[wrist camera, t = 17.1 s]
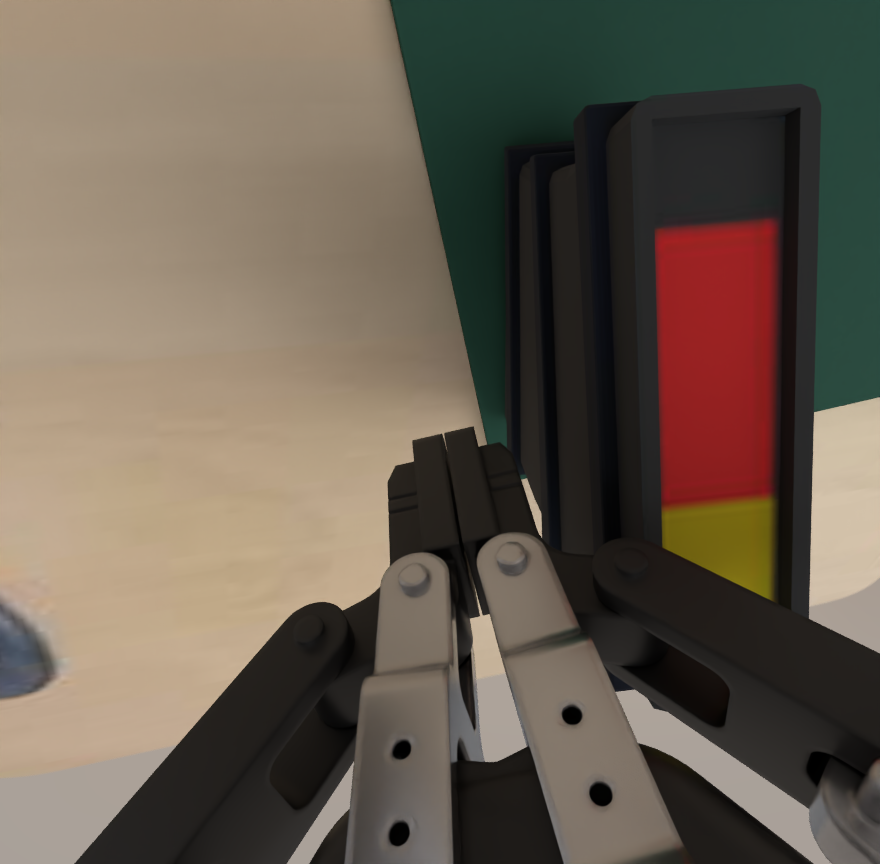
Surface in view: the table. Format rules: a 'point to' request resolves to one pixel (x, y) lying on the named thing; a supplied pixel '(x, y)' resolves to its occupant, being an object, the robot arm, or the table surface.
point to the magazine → (670, 330)
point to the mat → (634, 79)
